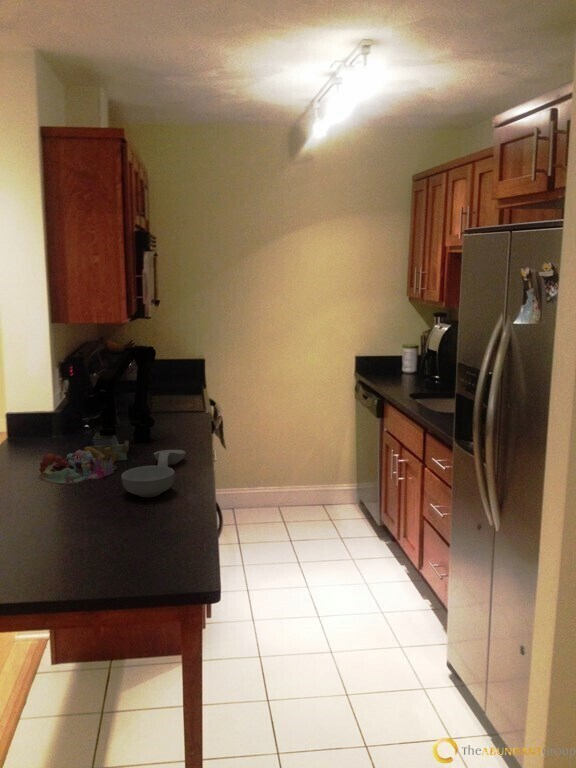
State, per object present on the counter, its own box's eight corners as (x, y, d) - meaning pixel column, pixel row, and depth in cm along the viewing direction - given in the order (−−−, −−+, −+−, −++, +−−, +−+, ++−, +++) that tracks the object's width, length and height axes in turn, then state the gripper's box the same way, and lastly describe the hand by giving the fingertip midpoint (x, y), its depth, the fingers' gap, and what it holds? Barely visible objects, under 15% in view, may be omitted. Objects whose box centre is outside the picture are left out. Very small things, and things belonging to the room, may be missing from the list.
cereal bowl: (174, 483, 236) (174, 463, 235) (175, 500, 220) (174, 479, 219) (123, 486, 233) (122, 466, 232) (120, 504, 217) (119, 482, 216)
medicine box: (120, 448, 270) (115, 432, 265) (117, 456, 267) (110, 440, 261) (102, 447, 272) (95, 431, 266) (97, 455, 268) (91, 440, 263)
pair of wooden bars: (128, 446, 280) (128, 432, 279) (126, 460, 262) (125, 444, 261) (95, 448, 278) (94, 433, 277) (91, 462, 260) (90, 446, 259)
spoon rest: (156, 458, 265) (155, 440, 264) (187, 457, 266) (186, 439, 264) (146, 478, 242) (145, 458, 241) (180, 477, 242) (179, 458, 241)
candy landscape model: (79, 460, 264) (77, 436, 262) (129, 468, 254) (127, 443, 252) (29, 480, 242) (27, 454, 240) (81, 489, 232) (80, 462, 230)
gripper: (89, 404, 276) (92, 441, 279) (84, 415, 258) (87, 455, 261) (118, 402, 278) (120, 440, 281) (115, 413, 260) (117, 453, 263)
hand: (111, 447), depth 272 cm, fingers closed
